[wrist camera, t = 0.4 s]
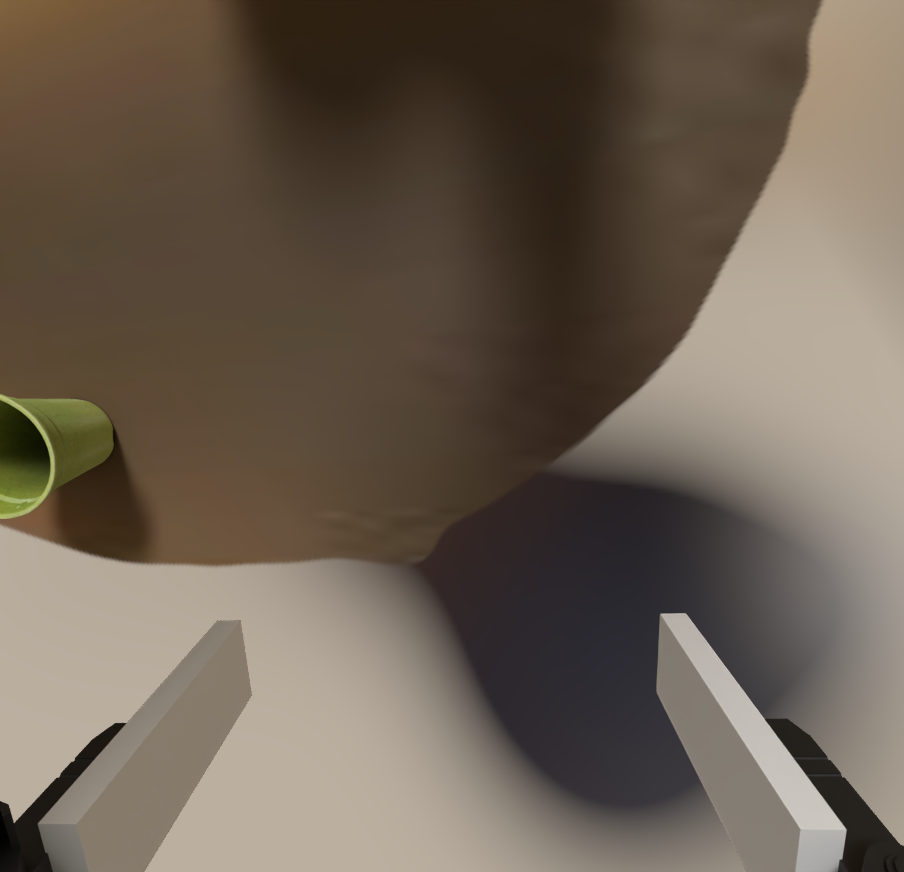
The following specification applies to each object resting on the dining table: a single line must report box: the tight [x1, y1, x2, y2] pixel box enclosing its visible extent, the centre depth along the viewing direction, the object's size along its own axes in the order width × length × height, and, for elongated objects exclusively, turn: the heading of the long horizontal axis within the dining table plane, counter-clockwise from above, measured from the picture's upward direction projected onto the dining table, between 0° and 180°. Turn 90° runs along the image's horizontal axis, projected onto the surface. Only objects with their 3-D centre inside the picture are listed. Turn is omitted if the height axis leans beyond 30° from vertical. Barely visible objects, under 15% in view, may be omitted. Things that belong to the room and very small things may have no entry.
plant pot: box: [0, 394, 114, 519], centre depth 39 cm, size 9×9×9 cm
